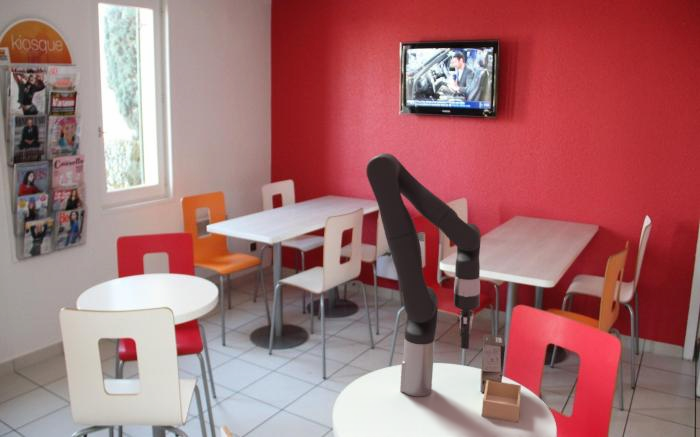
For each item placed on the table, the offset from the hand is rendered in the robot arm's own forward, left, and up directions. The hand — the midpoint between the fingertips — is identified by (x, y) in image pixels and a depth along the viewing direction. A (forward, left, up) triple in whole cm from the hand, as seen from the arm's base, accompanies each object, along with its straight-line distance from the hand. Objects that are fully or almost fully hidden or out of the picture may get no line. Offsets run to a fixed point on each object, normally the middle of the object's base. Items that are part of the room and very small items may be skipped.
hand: (465, 342), depth 190 cm
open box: (+12, -3, -18) cm, 22 cm away
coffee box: (+8, +10, -18) cm, 22 cm away
